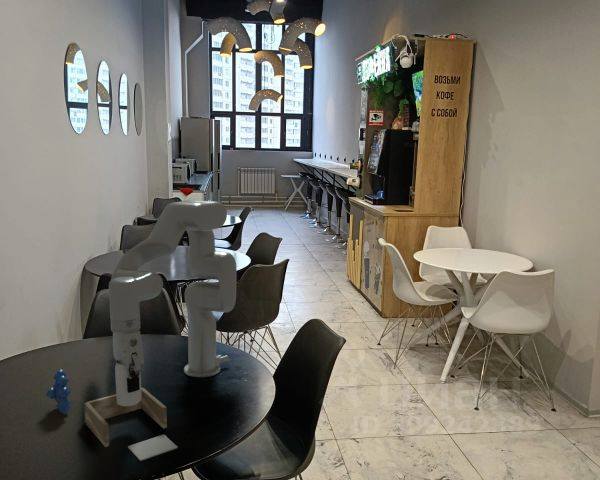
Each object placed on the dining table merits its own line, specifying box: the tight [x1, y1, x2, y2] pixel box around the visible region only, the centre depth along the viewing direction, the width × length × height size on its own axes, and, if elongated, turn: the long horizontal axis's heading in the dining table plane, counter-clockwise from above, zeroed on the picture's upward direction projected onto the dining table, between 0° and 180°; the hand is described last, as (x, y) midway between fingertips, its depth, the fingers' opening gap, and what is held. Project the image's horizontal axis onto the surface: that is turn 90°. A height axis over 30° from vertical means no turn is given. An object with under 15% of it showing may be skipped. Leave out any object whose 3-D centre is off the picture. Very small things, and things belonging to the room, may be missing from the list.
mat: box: [127, 434, 178, 462], centre depth 141 cm, size 10×8×1 cm
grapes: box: [45, 369, 72, 415], centre depth 158 cm, size 12×7×12 cm, turn 33°
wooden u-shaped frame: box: [83, 386, 168, 448], centre depth 151 cm, size 17×16×6 cm
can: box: [114, 360, 142, 407], centre depth 149 cm, size 6×6×12 cm
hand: (128, 385), depth 149 cm, fingers closed on can, 6 cm apart
